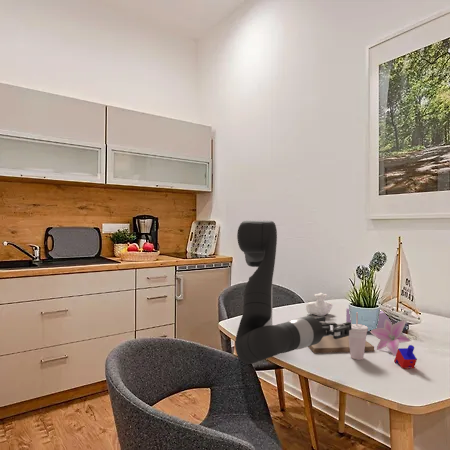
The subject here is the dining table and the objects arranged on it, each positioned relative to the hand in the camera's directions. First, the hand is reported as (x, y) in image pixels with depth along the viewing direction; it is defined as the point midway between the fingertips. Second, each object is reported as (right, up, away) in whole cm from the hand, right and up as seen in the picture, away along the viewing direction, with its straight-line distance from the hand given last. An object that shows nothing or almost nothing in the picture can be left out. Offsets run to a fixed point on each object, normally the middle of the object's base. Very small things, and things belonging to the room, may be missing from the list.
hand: (336, 322), depth 111 cm
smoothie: (+8, -13, +8) cm, 17 cm away
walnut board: (+5, -12, +21) cm, 25 cm away
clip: (+27, -12, +42) cm, 51 cm away
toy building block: (+20, -13, +1) cm, 24 cm away
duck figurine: (+10, -12, +60) cm, 62 cm away
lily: (+22, -13, +14) cm, 29 cm away
